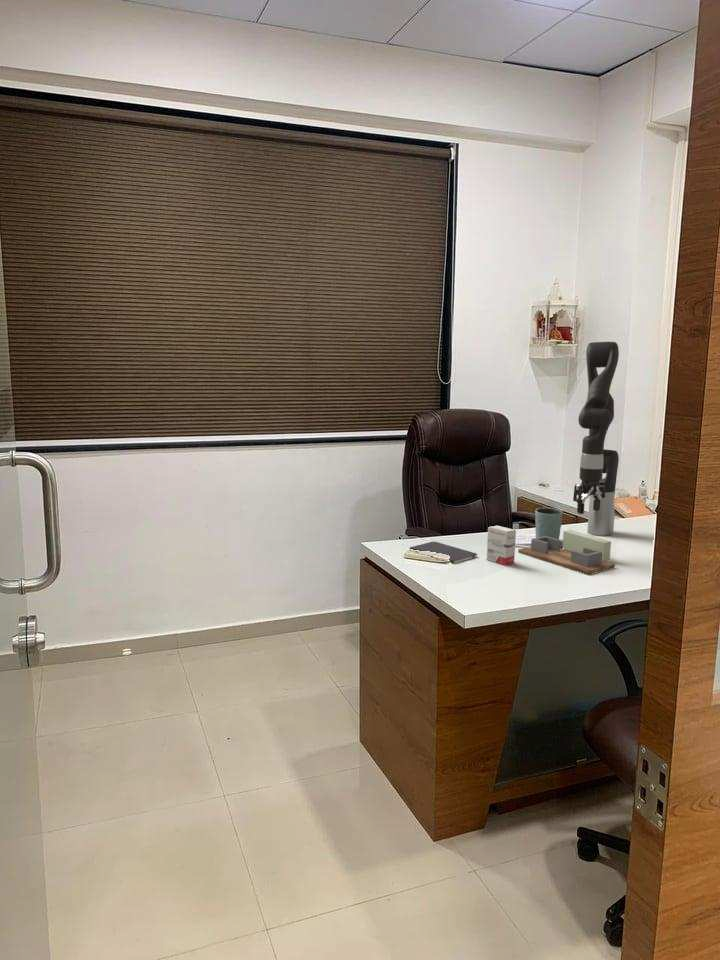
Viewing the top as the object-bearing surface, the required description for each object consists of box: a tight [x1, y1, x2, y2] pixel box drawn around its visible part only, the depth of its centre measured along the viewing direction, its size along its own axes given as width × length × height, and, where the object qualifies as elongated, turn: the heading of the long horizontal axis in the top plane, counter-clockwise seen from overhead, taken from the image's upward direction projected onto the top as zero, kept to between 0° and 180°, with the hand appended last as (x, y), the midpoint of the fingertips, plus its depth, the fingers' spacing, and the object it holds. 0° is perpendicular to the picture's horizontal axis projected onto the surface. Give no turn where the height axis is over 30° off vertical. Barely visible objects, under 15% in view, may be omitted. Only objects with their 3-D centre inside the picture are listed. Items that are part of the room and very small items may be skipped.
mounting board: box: [517, 546, 616, 576], centre depth 242 cm, size 14×30×1 cm, turn 34°
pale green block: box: [562, 529, 612, 562], centre depth 247 cm, size 4×18×7 cm, turn 32°
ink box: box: [486, 525, 517, 566], centre depth 238 cm, size 8×5×12 cm, turn 39°
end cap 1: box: [530, 536, 561, 554], centre depth 248 cm, size 7×7×4 cm
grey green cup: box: [534, 507, 564, 540], centre depth 263 cm, size 10×10×12 cm
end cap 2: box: [571, 547, 602, 567], centre depth 234 cm, size 7×7×4 cm
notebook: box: [409, 541, 478, 565], centre depth 249 cm, size 13×2×21 cm
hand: (588, 511), depth 245 cm, fingers open, 8 cm apart
